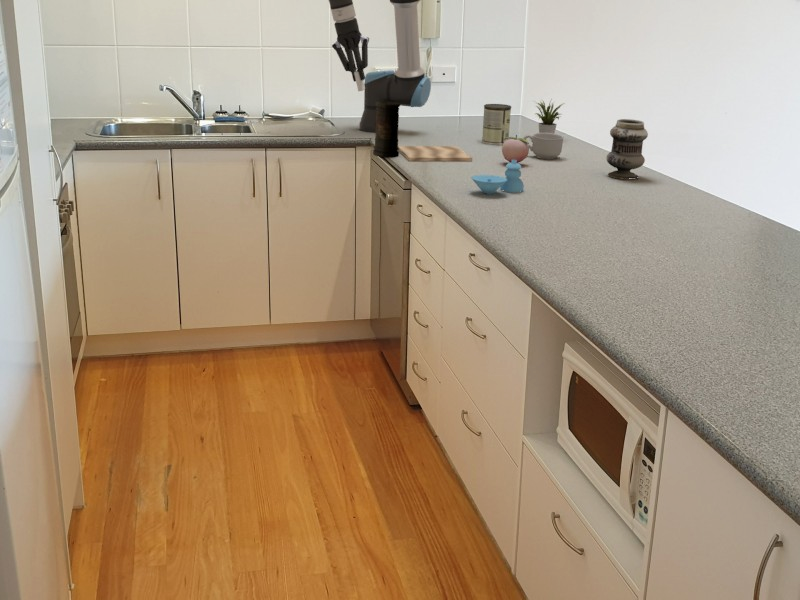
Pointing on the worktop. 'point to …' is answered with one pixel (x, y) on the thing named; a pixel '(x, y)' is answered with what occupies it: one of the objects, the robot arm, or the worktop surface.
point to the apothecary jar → (627, 147)
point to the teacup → (546, 145)
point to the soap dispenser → (501, 180)
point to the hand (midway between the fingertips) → (361, 90)
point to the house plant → (548, 118)
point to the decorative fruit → (515, 149)
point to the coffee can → (496, 123)
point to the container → (386, 129)
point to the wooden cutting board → (433, 153)
